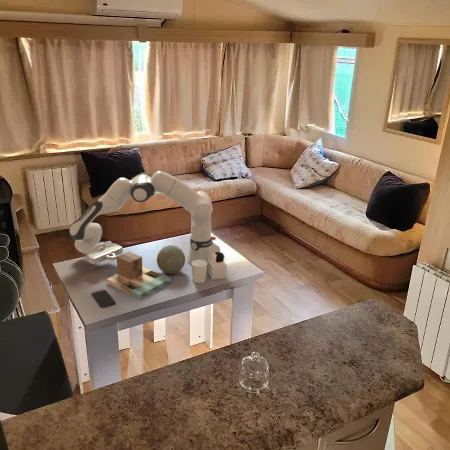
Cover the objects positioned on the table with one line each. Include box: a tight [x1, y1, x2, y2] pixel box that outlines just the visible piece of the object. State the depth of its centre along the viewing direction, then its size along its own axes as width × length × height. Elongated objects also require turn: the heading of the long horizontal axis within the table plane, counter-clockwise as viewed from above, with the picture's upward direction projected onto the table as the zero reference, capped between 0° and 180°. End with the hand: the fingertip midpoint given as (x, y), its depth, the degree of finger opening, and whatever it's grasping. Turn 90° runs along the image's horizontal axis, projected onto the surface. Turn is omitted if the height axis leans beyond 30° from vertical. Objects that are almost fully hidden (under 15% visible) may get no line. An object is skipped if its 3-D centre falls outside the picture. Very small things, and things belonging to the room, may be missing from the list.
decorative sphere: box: [156, 245, 186, 275], centre depth 247 cm, size 15×15×15 cm
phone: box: [91, 289, 117, 309], centre depth 222 cm, size 7×1×15 cm
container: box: [207, 251, 227, 281], centre depth 245 cm, size 8×8×13 cm
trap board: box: [106, 265, 173, 300], centre depth 237 cm, size 22×24×2 cm
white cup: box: [191, 260, 208, 284], centre depth 241 cm, size 8×8×10 cm
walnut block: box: [116, 251, 143, 280], centre depth 238 cm, size 8×10×10 cm
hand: (114, 258), depth 244 cm, fingers closed
